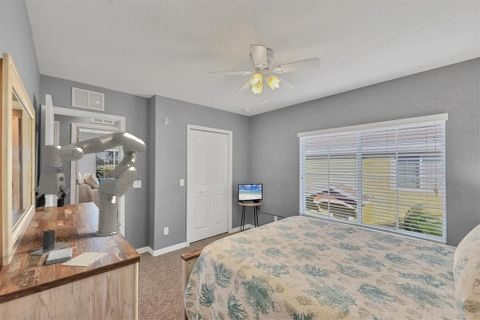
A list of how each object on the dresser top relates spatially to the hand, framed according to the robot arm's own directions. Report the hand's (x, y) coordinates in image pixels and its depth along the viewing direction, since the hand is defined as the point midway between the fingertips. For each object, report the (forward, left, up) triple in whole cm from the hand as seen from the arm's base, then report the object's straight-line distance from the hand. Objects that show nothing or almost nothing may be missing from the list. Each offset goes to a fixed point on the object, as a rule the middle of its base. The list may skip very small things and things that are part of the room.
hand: (51, 206), depth 104 cm
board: (+8, +25, -20) cm, 33 cm away
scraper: (0, +1, -21) cm, 21 cm away
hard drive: (+8, +13, -20) cm, 26 cm away
